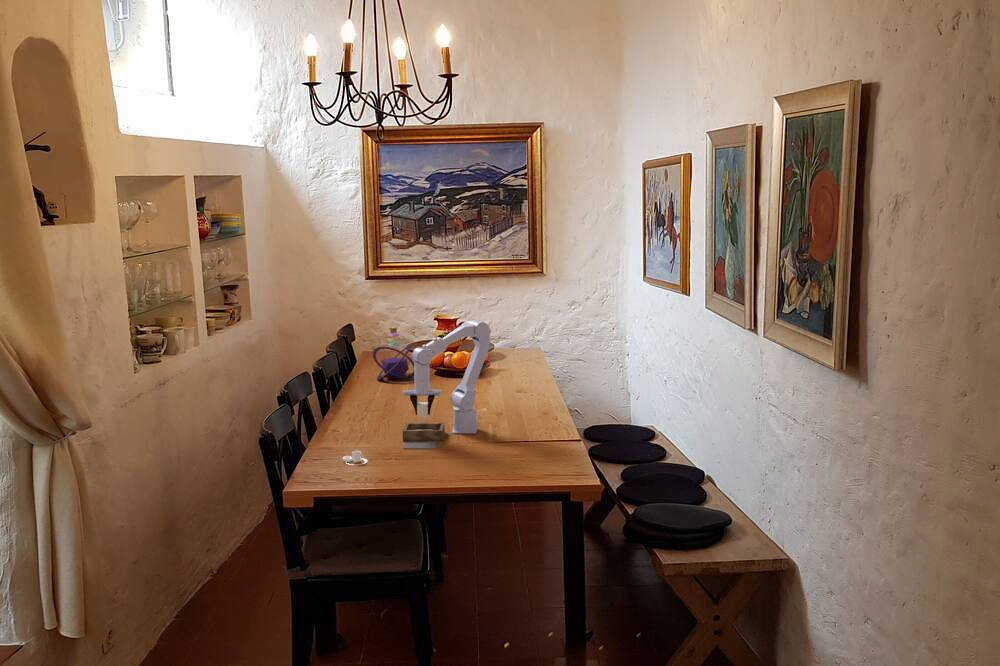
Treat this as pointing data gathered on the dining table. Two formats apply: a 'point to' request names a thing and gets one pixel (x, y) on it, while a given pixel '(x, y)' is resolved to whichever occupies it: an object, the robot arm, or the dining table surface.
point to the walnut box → (423, 431)
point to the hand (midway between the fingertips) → (422, 414)
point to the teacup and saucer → (354, 458)
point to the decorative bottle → (394, 360)
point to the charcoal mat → (420, 445)
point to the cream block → (422, 410)
